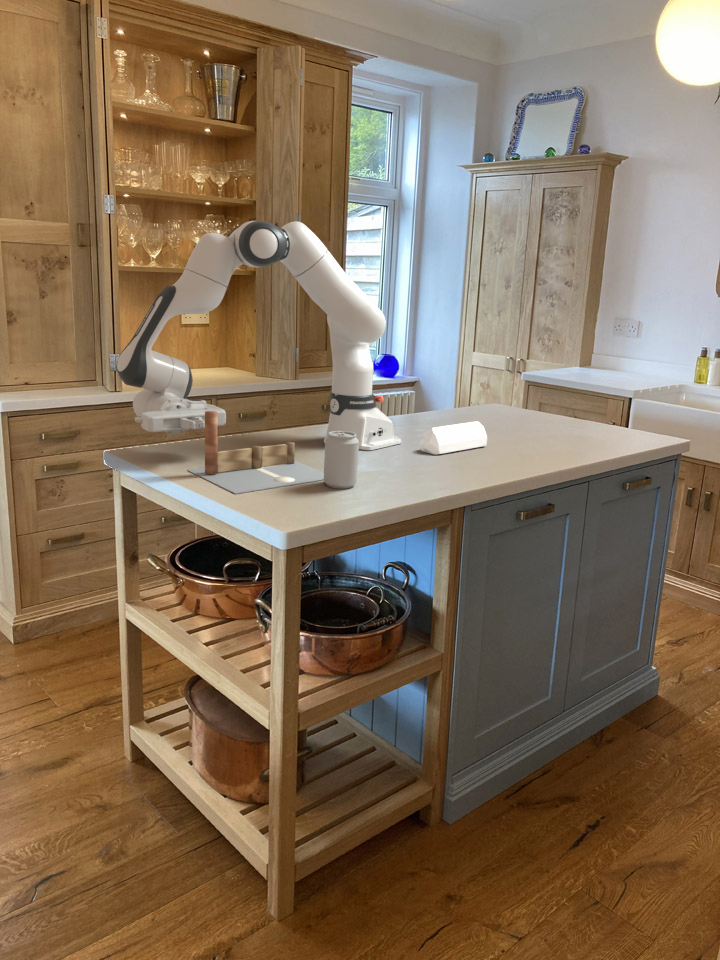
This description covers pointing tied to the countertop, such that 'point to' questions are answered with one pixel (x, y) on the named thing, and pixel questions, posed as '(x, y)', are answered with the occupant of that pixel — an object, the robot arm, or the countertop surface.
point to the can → (341, 459)
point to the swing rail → (223, 458)
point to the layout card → (262, 477)
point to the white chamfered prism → (453, 438)
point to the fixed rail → (273, 455)
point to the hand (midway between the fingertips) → (199, 425)
